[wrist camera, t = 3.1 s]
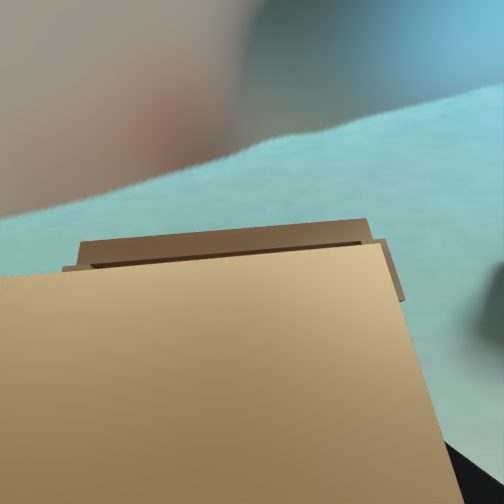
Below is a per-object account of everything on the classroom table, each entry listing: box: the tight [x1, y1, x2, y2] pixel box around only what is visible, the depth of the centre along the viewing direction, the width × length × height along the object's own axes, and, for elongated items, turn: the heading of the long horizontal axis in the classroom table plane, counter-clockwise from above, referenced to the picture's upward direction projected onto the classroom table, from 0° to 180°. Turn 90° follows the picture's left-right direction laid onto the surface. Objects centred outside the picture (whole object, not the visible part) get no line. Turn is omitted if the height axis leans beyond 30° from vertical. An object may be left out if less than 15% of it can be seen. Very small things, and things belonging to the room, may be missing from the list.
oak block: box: [0, 243, 464, 504], centre depth 8 cm, size 5×5×13 cm
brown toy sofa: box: [62, 218, 406, 302], centre depth 13 cm, size 11×15×7 cm
